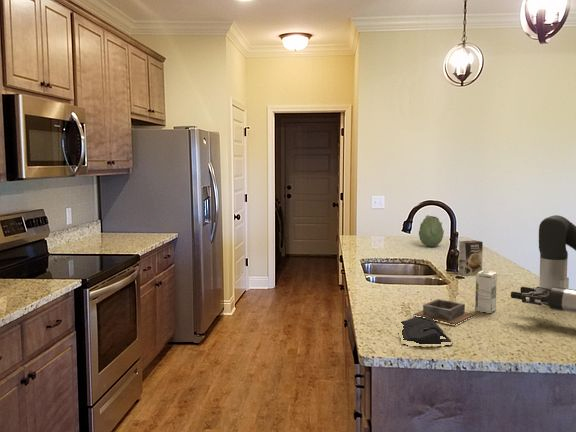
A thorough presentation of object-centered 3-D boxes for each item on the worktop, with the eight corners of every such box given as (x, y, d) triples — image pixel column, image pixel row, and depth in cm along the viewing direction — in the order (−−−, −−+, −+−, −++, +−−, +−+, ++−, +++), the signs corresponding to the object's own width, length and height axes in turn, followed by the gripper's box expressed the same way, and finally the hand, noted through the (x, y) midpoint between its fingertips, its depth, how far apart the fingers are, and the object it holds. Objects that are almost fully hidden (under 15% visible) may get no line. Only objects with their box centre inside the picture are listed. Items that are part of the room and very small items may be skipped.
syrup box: (480, 307, 185) (480, 269, 183) (496, 310, 181) (497, 271, 180) (474, 311, 181) (475, 272, 179) (491, 314, 177) (492, 274, 175)
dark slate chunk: (439, 325, 168) (439, 311, 168) (454, 349, 147) (454, 334, 146) (394, 325, 170) (393, 311, 170) (402, 349, 148) (401, 333, 148)
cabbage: (420, 249, 309) (420, 217, 306) (416, 244, 327) (416, 214, 325) (446, 249, 307) (446, 217, 304) (441, 244, 325) (441, 214, 323)
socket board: (474, 316, 175) (474, 304, 174) (455, 326, 165) (455, 313, 165) (433, 308, 186) (433, 296, 186) (413, 316, 177) (413, 304, 176)
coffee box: (466, 276, 235) (466, 242, 233) (458, 273, 241) (458, 241, 239) (482, 274, 237) (483, 241, 235) (474, 271, 243) (474, 239, 242)
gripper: (559, 316, 156) (507, 306, 168) (573, 306, 166) (523, 298, 178) (559, 293, 155) (507, 285, 167) (574, 284, 165) (524, 277, 177)
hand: (516, 292), depth 172 cm, fingers open, 8 cm apart
